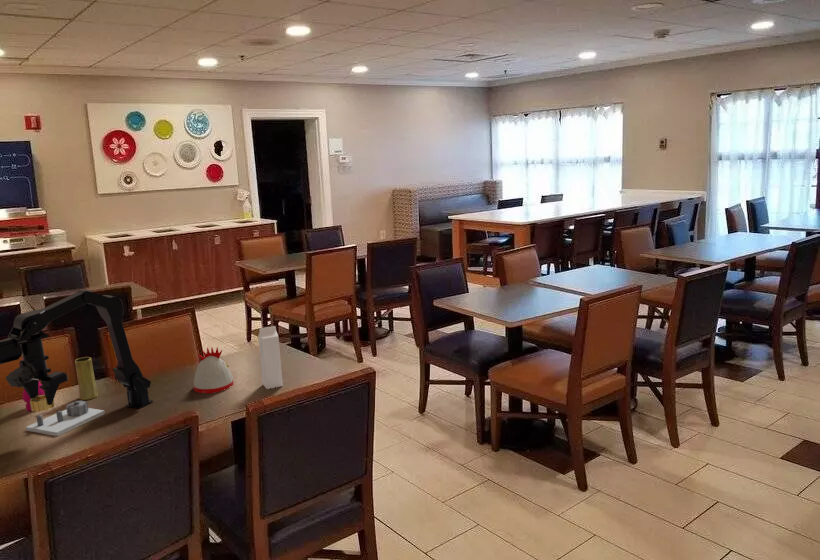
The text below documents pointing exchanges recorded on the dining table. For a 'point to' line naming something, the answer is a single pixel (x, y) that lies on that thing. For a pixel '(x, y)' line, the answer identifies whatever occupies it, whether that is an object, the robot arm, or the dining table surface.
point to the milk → (270, 357)
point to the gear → (40, 403)
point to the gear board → (65, 419)
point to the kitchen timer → (212, 373)
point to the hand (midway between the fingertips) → (42, 403)
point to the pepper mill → (27, 398)
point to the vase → (86, 378)
